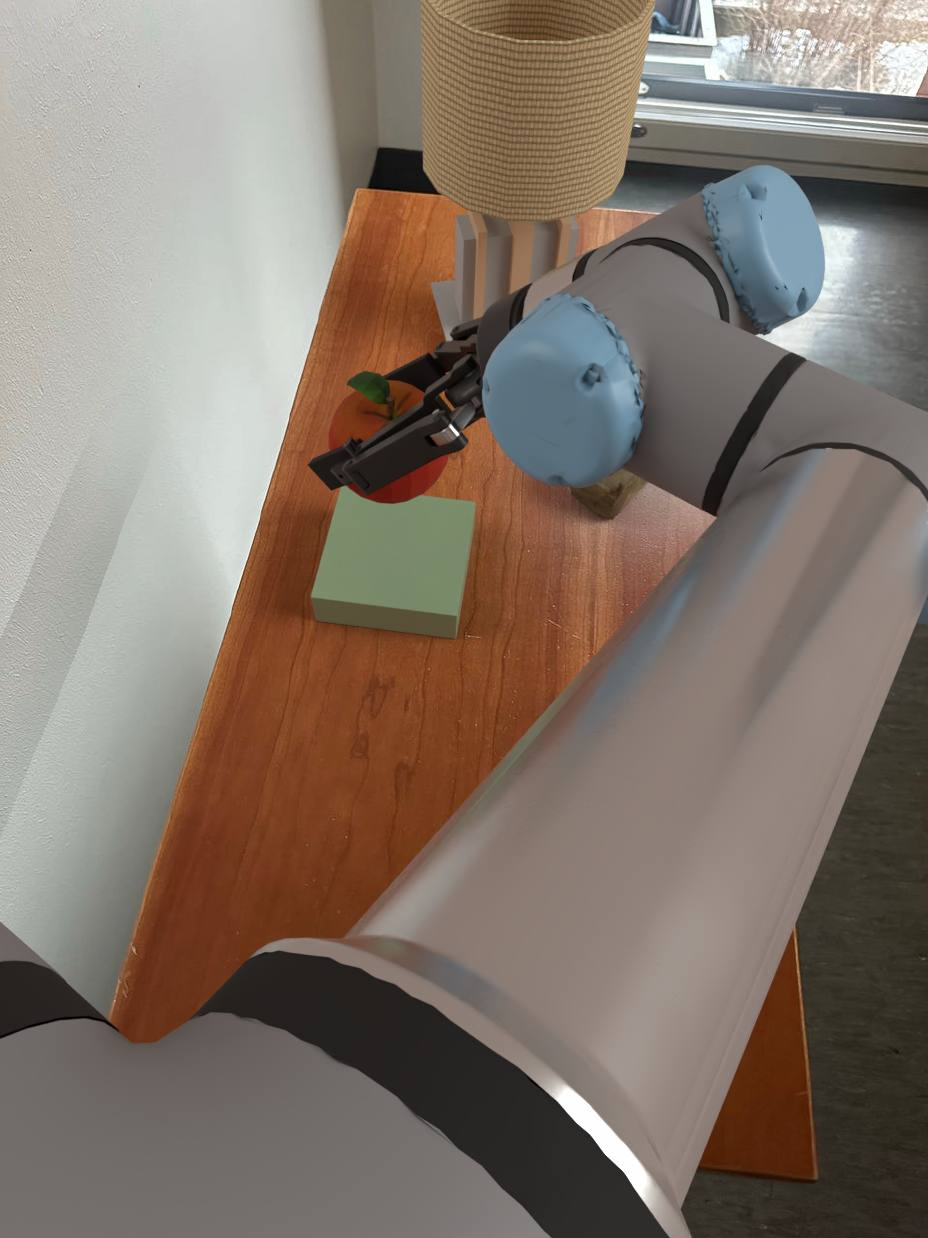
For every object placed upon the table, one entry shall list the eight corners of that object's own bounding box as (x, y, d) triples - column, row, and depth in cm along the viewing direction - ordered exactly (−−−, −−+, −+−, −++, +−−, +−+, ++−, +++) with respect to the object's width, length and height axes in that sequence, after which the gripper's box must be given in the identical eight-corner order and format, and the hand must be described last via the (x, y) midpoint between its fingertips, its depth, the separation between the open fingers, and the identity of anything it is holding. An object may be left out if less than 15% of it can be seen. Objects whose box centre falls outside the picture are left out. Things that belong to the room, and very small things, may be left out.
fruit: (409, 543, 70) (405, 455, 62) (311, 492, 73) (294, 401, 64) (472, 465, 74) (476, 374, 66) (377, 420, 77) (370, 326, 69)
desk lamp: (440, 398, 97) (442, 52, 67) (411, 284, 107) (401, -61, 78) (613, 378, 100) (688, 34, 70) (568, 268, 110) (617, -73, 80)
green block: (456, 639, 81) (457, 616, 78) (315, 621, 82) (310, 597, 78) (474, 527, 88) (476, 501, 85) (344, 511, 89) (341, 484, 85)
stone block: (563, 498, 90) (569, 465, 86) (625, 435, 95) (633, 400, 91) (610, 528, 88) (619, 494, 84) (671, 461, 93) (682, 427, 89)
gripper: (517, 509, 50) (312, 564, 67) (658, 287, 61) (450, 383, 78) (434, 406, 47) (241, 491, 64) (599, 192, 58) (395, 313, 75)
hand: (356, 432), depth 71 cm, fingers closed on fruit, 9 cm apart
